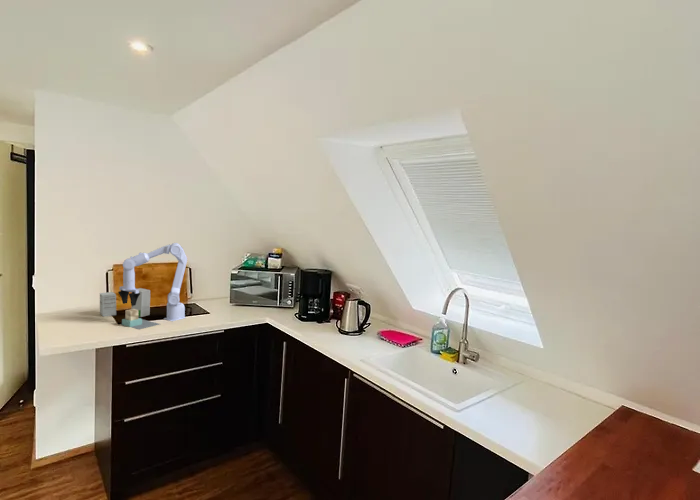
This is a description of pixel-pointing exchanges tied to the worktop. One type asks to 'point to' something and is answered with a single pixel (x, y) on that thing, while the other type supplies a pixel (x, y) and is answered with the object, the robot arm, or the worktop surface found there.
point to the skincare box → (143, 303)
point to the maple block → (131, 314)
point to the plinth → (132, 322)
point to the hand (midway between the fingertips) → (129, 304)
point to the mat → (145, 324)
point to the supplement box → (108, 304)
